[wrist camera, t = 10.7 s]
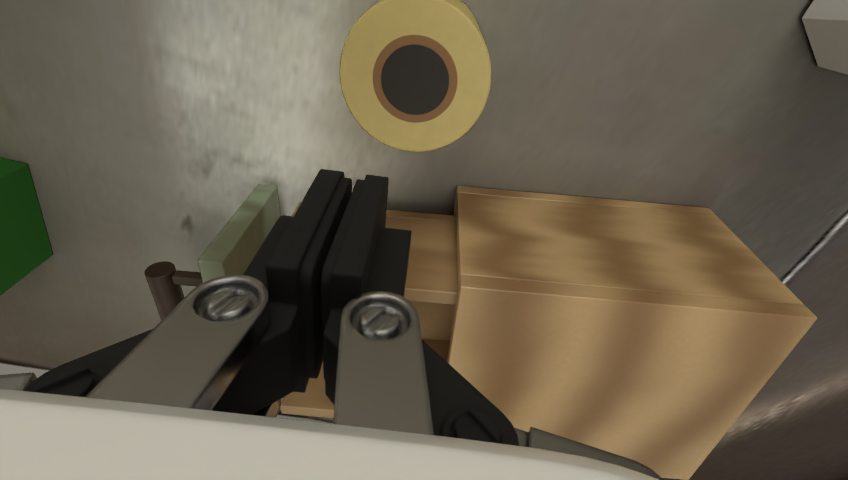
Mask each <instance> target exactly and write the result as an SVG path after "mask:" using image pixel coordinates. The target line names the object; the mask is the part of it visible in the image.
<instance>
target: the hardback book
mask: <svg viewBox="0 0 848 480" xmlns="http://www.w3.org/2000/svg"><path fill="white" fill-rule="evenodd" d="M52 255H53V253H52V249H51V245H50V242H49V238H48V235H47V231H46V228H45V224H44V220H43V217H42V213H41V210H40V206H39V202H38V199H37V195H36V192H35V188H34V185H33V181H32V177H31V174H30V170H29V167H28V164H26V163H21V162H17V161H13V160H9V159H5V158H0V295H2V294H3V293H4V292H6V291H7V290H8V289H9V288H11V287H12V286H13V285H15V284H16V283H17V282H18V281H20V280H21V279H22V278H23V277H25V276H26V275H27V274H29V273H30V272H31V271H32V270H34V269H35V268H36V267H38V266H39V265H40V264H41V263H43V262H44V261H45V260H47V259H48V258H49V257H50V256H52Z"/></svg>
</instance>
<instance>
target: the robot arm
mask: <svg viewBox="0 0 848 480" xmlns="http://www.w3.org/2000/svg"><path fill="white" fill-rule="evenodd" d="M387 196H388V177H381V176H373V175H366V177H365V180H359V179H357V181H356V184H355V186H354V189H353V191H352V180H351V179H350V178H344V172H340V171H332V170H323V169H321V170H320V171H319V173H318V174H317V176H316V178H315V180H314V181H313V183H312V185H311V187H310V188H309V190H308V192H307V194H306V195H305V197H304V199H303V201H302V202H301V204H300V206H299V208H298V209H297V211H296V213H295V215H294V216H293V217H292V216H284V215H283V216H280V217H279V218H278V220H277V221H276V223H275V224H274V226H273V228H272V229H271V231H270V233H269V234H268V236H267V237H266V239H265V241H264V242H263V244H262V245H261V247H260V249H259V250H258V252H257V253H256V255H255V257H254V258H253V260H252V261H251V263H250V265H249V266H248V268H247V269H246V271H245V273H244V274H243V275H225V276H220V277H217V278H213V279H210V280H208V281H206V282H204V283H202V284H200V285H198V286H197V287H196V288H195V289H193V290H192V291H191V292H190V293H189V294H188V295H187V296H186V297H185V298H184V299H183V300H182V301H181V302H180V303H179V304H178V305H177V306H176V307H175V308H174V309H173V310H172V311H171V312H170V313H169V314H168V315H167V316H166V317H165V318H164V319H163V320H162V321H161V322H160V323H159V324H158V325H157V326H156V327H155V328H154V329H152V330H149V331H147V332H144V333H142V334H139V335H137V336H134V337H132V338H129V339H126V340H124V341H121V342H119V343H116V344H114V345H111V346H109V347H106V348H104V349H101V350H98V351H96V352H93V353H91V354H88V355H86V356H83V357H81V358H78V359H76V360H73V361H70V362H68V363H65V364H63V365H60V366H58V367H56V368H54V369H52V370H50V371H48V372H46V373H44V374H43V375H42V376H40V377H39V378H36V376H35V374H34V373H21V374H8V375H0V480H663V479H662V478H661V477H660V476H659V475H658V474H657V473H655V472H654V471H653V470H652V469H651V468H649V467H647V466H645V465H643V464H641V463H639V462H637V461H635V460H632V459H629V458H626V457H623V456H620V455H617V454H614V453H610V452H607V451H604V450H601V449H598V448H595V447H592V446H589V445H586V444H583V443H580V442H577V441H574V440H571V439H567V438H564V437H561V436H558V435H555V434H552V433H549V432H546V431H543V430H540V429H537V428H534V427H530V430H529V432H527V431H523V430H520V429H517V428H514V427H513V425H512V423H511V422H510V421H509V420H508V418H507V417H506V416H505V415H504V414H503V413H502V412H501V411H500V410H499V409H498V408H497V407H496V406H495V405H494V404H492V403H491V402H490V401H489V400H488V399H487V398H486V397H485V396H484V395H483V394H481V393H480V392H479V391H478V390H477V389H476V388H475V387H474V386H473V385H472V384H471V383H469V382H468V381H467V380H466V379H465V378H464V377H463V376H462V375H461V374H460V373H458V372H457V371H456V370H455V369H454V368H453V367H452V366H451V365H450V364H449V363H447V362H446V361H445V360H444V359H443V358H442V357H441V356H440V355H439V354H438V353H436V352H435V351H434V350H433V349H432V348H431V347H430V346H429V345H428V344H427V343H426V342H424V341H423V340H422V338H421V330H420V322H419V316H418V313H417V310H416V308H415V307H414V306H413V305H412V303H411V302H410V301H408V300H407V299H405V298H404V293H405V285H406V277H407V269H408V260H409V251H410V242H411V233H412V231H411V230H402V229H394V228H385V224H386V210H387ZM322 363H323V371H324V380H325V394H326V396H327V397H328V398H329V399H330V401H331V402H332V403H333V404H334V416H333V424H330V423H321V422H312V421H303V420H293V419H284V418H276V416H277V414H278V411H279V409H280V406H281V398H283V397H285V396H286V395H288V394H290V393H292V392H302V393H305V390H306V387H307V384H308V381H309V378H315V379H317V378H318V376H319V373H320V370H321V366H322Z"/></svg>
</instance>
